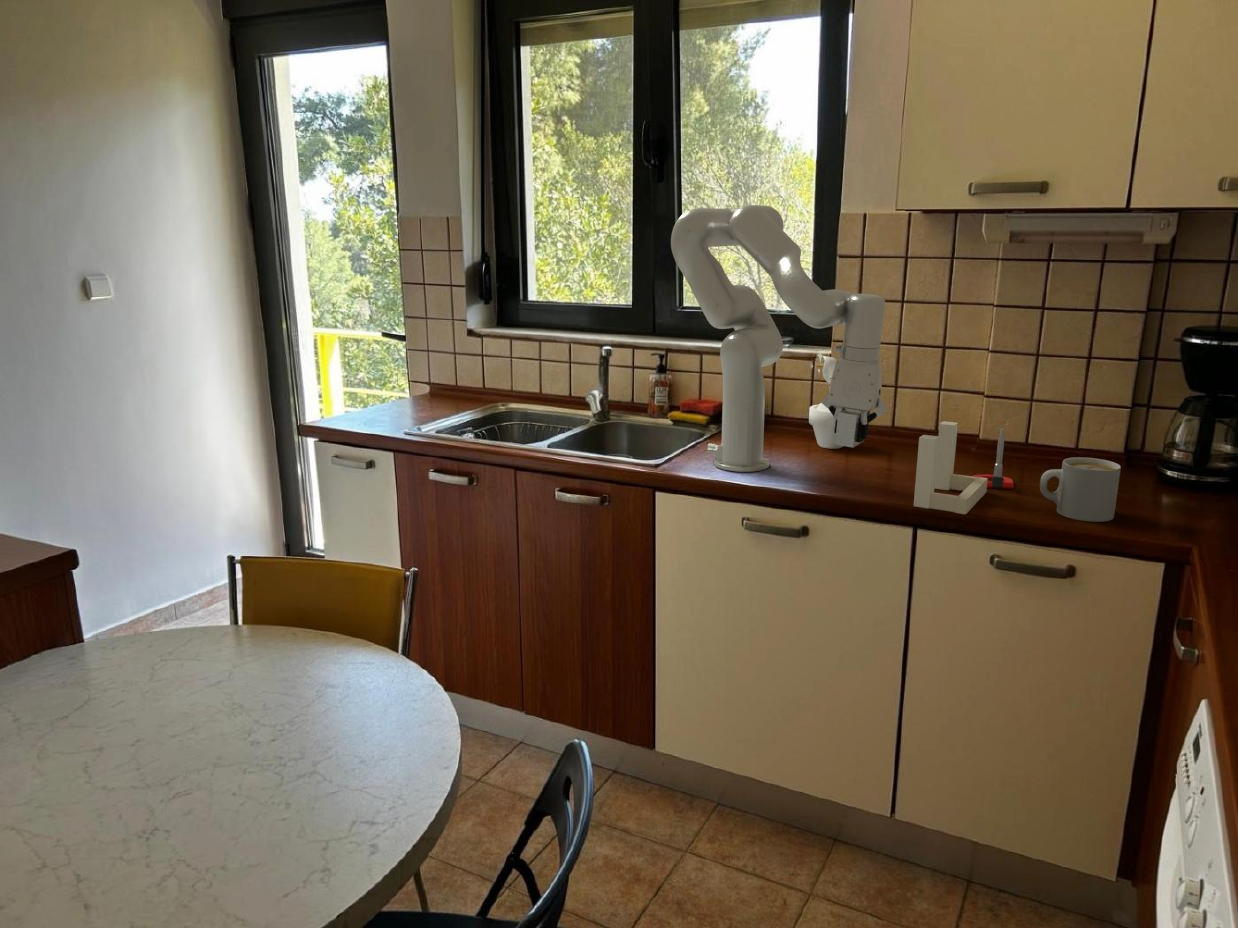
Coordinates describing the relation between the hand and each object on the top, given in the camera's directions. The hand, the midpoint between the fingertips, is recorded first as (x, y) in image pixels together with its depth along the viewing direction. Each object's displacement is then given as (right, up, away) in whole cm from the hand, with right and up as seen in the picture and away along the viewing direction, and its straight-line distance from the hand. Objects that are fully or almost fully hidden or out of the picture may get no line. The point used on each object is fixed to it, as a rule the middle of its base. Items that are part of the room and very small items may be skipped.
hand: (850, 438), depth 196 cm
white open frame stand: (+18, -13, -9) cm, 24 cm away
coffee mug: (+39, -15, -18) cm, 46 cm away
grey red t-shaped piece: (+31, -10, +2) cm, 33 cm away
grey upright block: (0, -1, 0) cm, 1 cm away
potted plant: (+4, -1, +35) cm, 35 cm away
